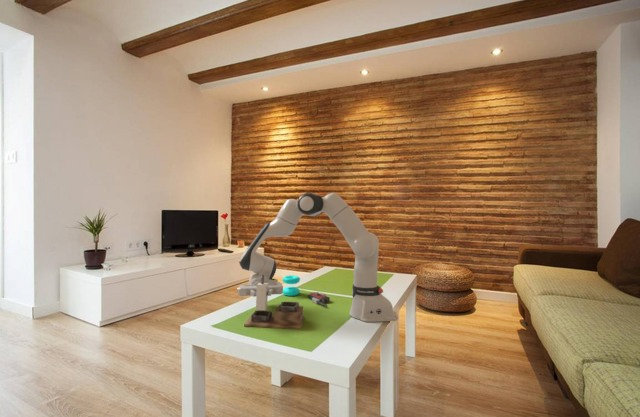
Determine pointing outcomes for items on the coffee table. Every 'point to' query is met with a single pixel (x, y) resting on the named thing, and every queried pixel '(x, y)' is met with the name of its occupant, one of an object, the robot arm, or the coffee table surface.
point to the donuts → (291, 290)
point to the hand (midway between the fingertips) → (262, 294)
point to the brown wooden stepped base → (278, 317)
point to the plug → (261, 295)
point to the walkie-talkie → (319, 298)
